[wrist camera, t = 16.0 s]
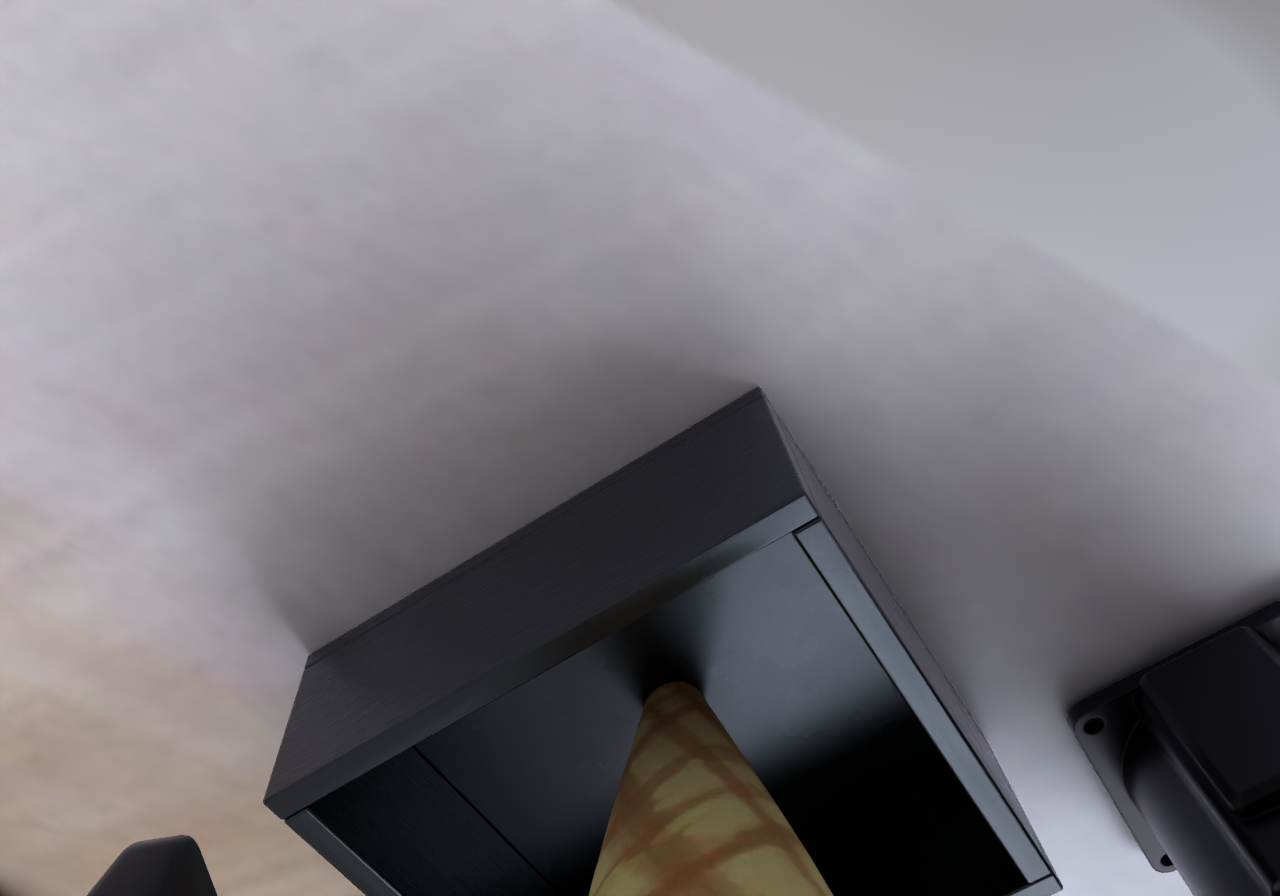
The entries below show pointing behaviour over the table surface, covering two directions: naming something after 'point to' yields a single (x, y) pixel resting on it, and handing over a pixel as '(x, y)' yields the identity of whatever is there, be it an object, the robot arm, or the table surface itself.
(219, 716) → the table surface
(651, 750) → the ice cream cone
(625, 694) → the open black storage bin
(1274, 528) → the table surface
